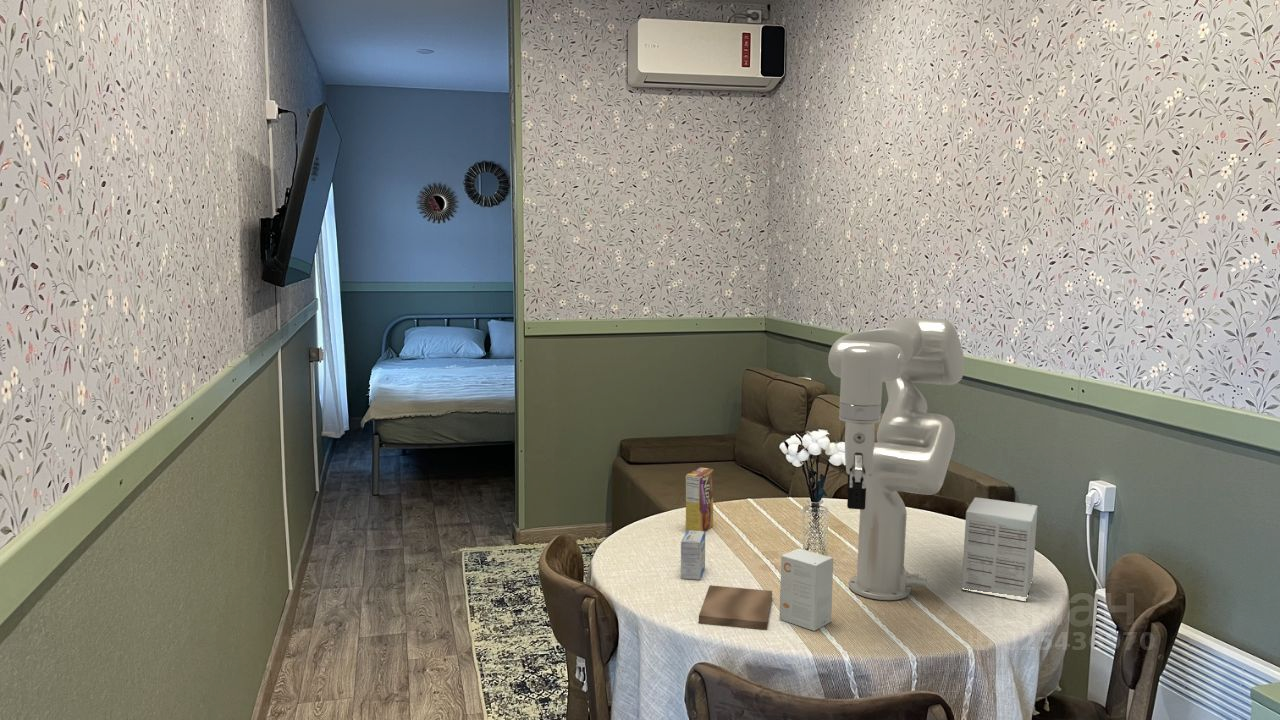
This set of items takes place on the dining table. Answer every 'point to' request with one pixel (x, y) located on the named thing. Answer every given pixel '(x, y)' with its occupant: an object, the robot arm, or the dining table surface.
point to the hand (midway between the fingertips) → (855, 501)
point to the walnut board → (736, 607)
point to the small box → (806, 589)
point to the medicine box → (693, 555)
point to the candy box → (699, 500)
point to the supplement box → (999, 547)
